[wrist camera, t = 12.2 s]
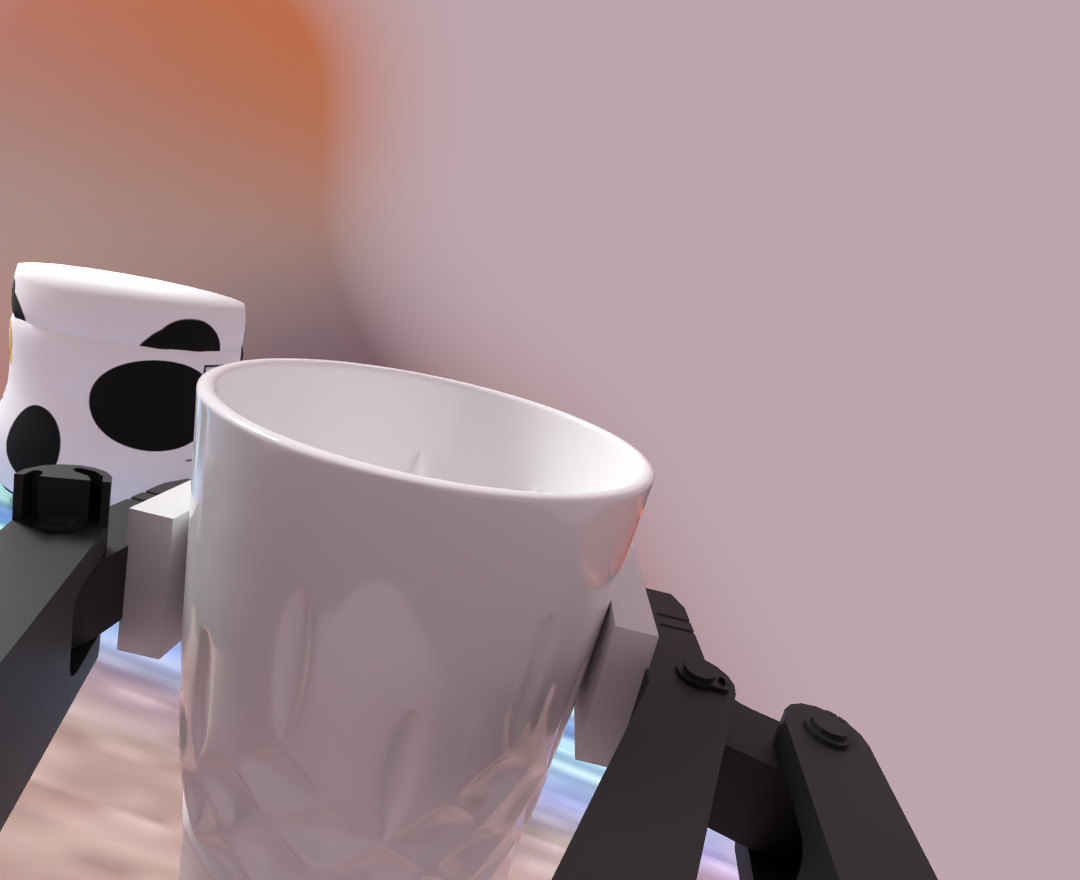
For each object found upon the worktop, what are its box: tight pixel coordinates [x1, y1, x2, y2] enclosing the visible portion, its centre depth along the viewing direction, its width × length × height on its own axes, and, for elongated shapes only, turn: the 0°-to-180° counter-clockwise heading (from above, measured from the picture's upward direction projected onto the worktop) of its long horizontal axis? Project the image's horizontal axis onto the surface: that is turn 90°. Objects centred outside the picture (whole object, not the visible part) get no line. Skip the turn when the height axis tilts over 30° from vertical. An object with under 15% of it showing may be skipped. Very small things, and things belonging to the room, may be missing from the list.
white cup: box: [178, 358, 654, 880], centre depth 12 cm, size 8×8×10 cm
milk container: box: [0, 262, 245, 506], centre depth 49 cm, size 17×17×18 cm
